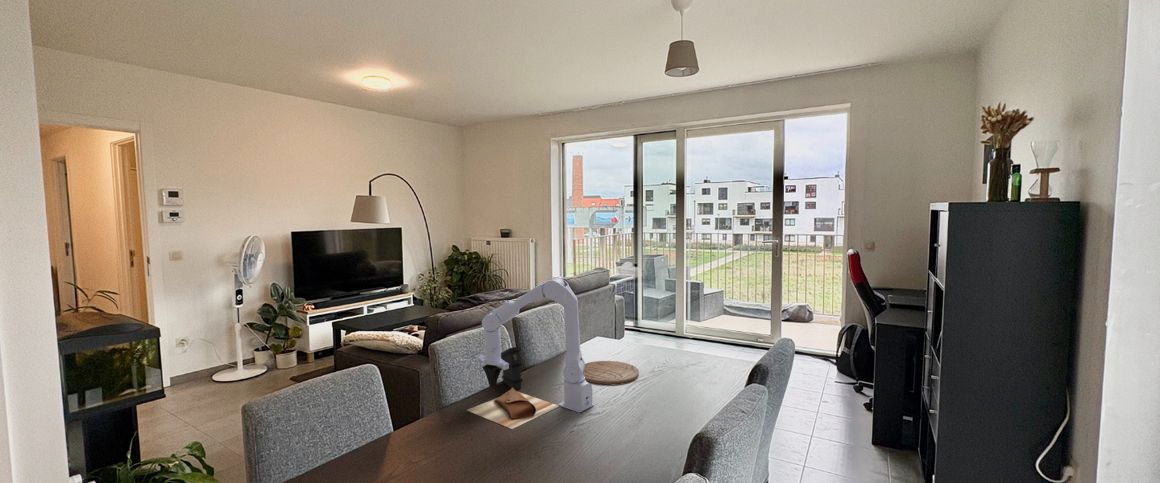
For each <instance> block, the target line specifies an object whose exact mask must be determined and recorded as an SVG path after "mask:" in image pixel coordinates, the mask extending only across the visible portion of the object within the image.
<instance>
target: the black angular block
mask: <svg viewBox="0 0 1160 483" xmlns="http://www.w3.org/2000/svg"><path fill="white" fill-rule="evenodd" d="M519 352H520V349H518V346H513V347H509V348H507V349H505V350H504V351H501V359H502V360H504V361H505V362H507V363H509V369H507V370H503V369H502V375H501V378H502V381H503V383H504V384H506V385H507V386H508V387H510V389H512V388H514V389H515V390H516V391H517V390H520V389H521V388H522V382H523V378H522V374H521V367H522V363H521V362H520V356H519Z"/></svg>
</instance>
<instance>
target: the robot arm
mask: <svg viewBox="0 0 1160 483" xmlns="http://www.w3.org/2000/svg"><path fill="white" fill-rule="evenodd" d="M545 298H547V299H548V300H551V301H554V302H556V303H558V304H559V305H561V306H562V307H563V316H564V334H565V336H564V338H565V360H564V361H565V362H564V363H565V365H564V369H563V371H562V376H563V401H562V402H560V403H558V406H560V407H562V408H565V409H568V410H571V411H573V412H577V413H581V412H583V411H585V410H587V409H589V408H591V407H594V402H593V387H592V383H589V382H586V380H585V377H584V375H583V374H582V373H583V371H584V369H585V364H586V363H585V360H584V359H583V353H582V351H581V336H580V317H579V315H580V314H579V300H578V297H577V296H576V294H575V293H574V291H573V290H572V289H571V287H570V285H569V283H568V282H567V281H566V280H565V279H563V278H562V277H559V276H556V277H552V278H551V279H549V280H546V281H544V282H543V283H540V284H538V285H536V286H535V287H533V288H532V289H530V290H529V291H528V292H526V293H525V294H524V295H522V296H521V297H519V298H518V299H515V300H510V299H509V300H508V301H507V300H505V301H503V302H502V304H501V305H500V306H498V307H496V308H493V309H491V312H490V313H488V314H485V316H484V317H483V318H482V320H481V325H482V329H483V333H484V334H483V342H484V343H483V349H484V350H483V353H484V354H483V355H478V356H477V358H476V361H477V362H478V363H481V364H482V365H483V366H482V370H483V371H484V373H485V375H486V378H487V382H488V385H489V387H497V384H498V379H499V376H500V373H501V372H502V371H503V370H507V369H509V363H507V362H505V361H504V360H502V359H501V353H502V346H501V345H502V340H501V339H502V337H501V336H502V334H501V332H502V330H501V327H502V325H504V324H505V323H507V322H509V321H510V320H512V319H514V318H515V317H516V316H518V315H519V314H520V309H521V308H523V307H524V306H526V305H528V304H529V303H531V302H533V301H534V300H536V299H545Z"/></svg>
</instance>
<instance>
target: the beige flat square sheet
mask: <svg viewBox="0 0 1160 483" xmlns="http://www.w3.org/2000/svg"><path fill="white" fill-rule="evenodd" d="M518 392H519V393H520V394H521V395H522V396H524V397H525V398H526V399H527V400H528V401H529V402H530V403H532V404H533V405H534V406H535V408H536V413H535V414H534V415H533V416H530V417H525V418H517V419H514V418H511V417H510V416H509V414H508V413H507V412H506V411H505V410H504V409H503V408H502V407H501V406H500V405H499V404H497V403H496V402H494V400H496V399H497V398H498V397H496V398H494V399H491V400H489V401H486V402H484V403H481V404H478V405H475V406H474V407H470V408H468V409H466V411H467V412H469V413H471V414H474V415H476V416H478V417H481V418H484V419H486V420H487V421H491V422H493V423H496V424H498V425H500V426H502V427H505V428H507V429H509V430H513V429H515V428H518V427H520V426H522V425H524V424H527V423H529V422H530V421H533V420H535V419H537V418H539V417H542V416H544V415H545V414H548V413H550V412H553V411H554V410H556V409H559V408H560V407H561V406H559V404H556V403H555V404H554V403H552V402H549V401H546V400H543V399H540V398H538V397H535V396H531V395H529V394H527V393H526V394H525V393H524V392H523V393H522V392H520V391H518Z"/></svg>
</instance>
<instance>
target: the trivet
mask: <svg viewBox="0 0 1160 483" xmlns="http://www.w3.org/2000/svg"><path fill="white" fill-rule="evenodd" d="M639 372H640V370H639V369H638V368H637V367H636V366H635V365H633V364H630V363H628V362H627V363H626V362H622V361H617V360H616V361H615V360H599V361H597V360H596V361H591V362H590V361H589V362H586V363H585V369H584V371H583V373H582V374H583V375H584V377H585V380H586V382H588V383H589V384H595V385H601V386H604V385H605V386H612V385H611V384H618V385H622V384H621V383H625V384H628V383H627V382H629V383H631V381H632V382H633V380H634V381H636V380H637V379H638V378H639V375H640V374H639ZM637 377H638V378H637ZM636 378H637V379H636Z"/></svg>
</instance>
